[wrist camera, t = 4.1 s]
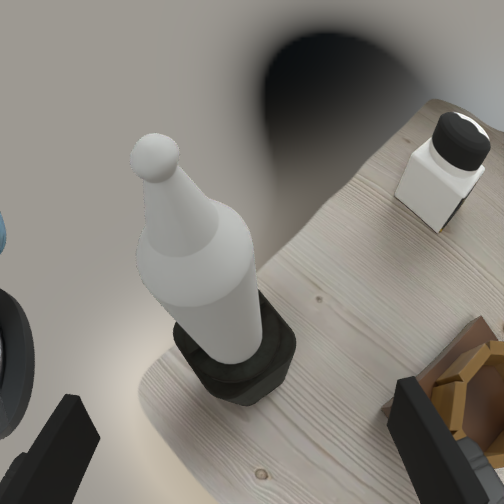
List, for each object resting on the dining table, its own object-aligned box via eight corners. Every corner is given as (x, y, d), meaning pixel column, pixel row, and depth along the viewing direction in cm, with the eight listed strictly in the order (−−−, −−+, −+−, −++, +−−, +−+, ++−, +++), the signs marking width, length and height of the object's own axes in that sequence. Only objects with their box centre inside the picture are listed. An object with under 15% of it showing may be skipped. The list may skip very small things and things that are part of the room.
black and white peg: (208, 365, 27) (8, 151, 5) (255, 332, 28) (205, 43, 6) (243, 411, 25) (59, 374, 3) (291, 376, 26) (385, 155, 4)
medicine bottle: (437, 235, 32) (486, 164, 21) (392, 195, 35) (424, 116, 24) (462, 204, 34) (504, 137, 23) (420, 169, 37) (451, 97, 26)
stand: (445, 499, 18) (482, 511, 13) (380, 407, 24) (409, 404, 18) (523, 408, 21) (563, 399, 15) (468, 322, 27) (503, 299, 21)
